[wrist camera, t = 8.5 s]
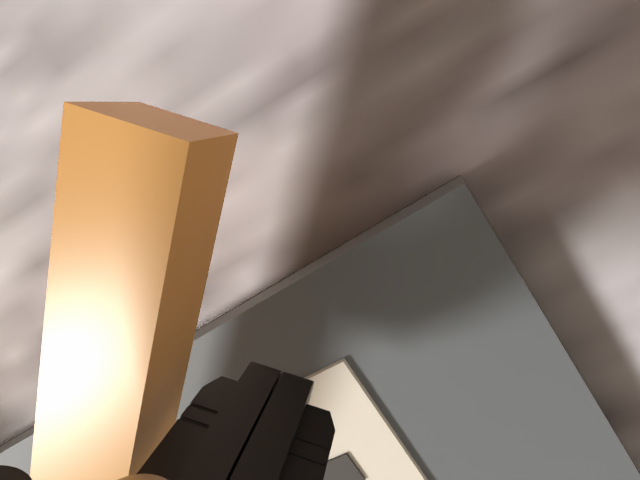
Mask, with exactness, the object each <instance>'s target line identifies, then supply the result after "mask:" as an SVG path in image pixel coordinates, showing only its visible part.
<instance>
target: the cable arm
mask: <svg viewBox="0 0 640 480" xmlns="http://www.w3.org/2000/svg"><path fill="white" fill-rule="evenodd" d="M237 137H238V133H236V132H233V131H230V130H227V129H223V128H220V127H217V126H214V125H211V124H207V123H204V122H201V121H198V120H195V119H192V118H188V117H185V116H182V115H179V114H176V113H173V112H169V111H166V110H163V109H160V108H157V107H153V106H150V105H147V104H144V103H141V102H64V106H63V117H62V128H61V139H60V150H59V161H58V172H57V183H56V194H55V205H54V216H53V227H52V238H51V249H50V260H49V271H48V282H47V293H46V304H45V315H44V326H43V337H42V348H41V359H40V370H39V381H38V392H37V403H36V414H35V425H34V436H33V447H32V458H31V469H30V477H31V478H32V480H118V479H120V478H123V477H126V476H130V475H134V474H136V473H137V472H138V471H139V470H140V469H141V467H142V466H143V465H144V463H145V462H146V461H147V459H148V458H149V457H150V455H151V454H152V453H153V451H154V450H155V449H156V447H157V446H158V445H159V443H160V442H161V441H162V440H163V438H164V437H165V436H166V434H167V433H168V432H169V430H170V429H171V428H172V426H173V425H174V424H175V422H176V418H177V414H178V409H179V405H180V400H181V395H182V391H183V386H184V382H185V377H186V372H187V368H188V363H189V359H190V354H191V349H192V345H193V340H194V336H195V331H196V326H197V322H198V317H199V312H200V308H201V303H202V299H203V294H204V289H205V285H206V280H207V276H208V271H209V266H210V262H211V257H212V253H213V248H214V243H215V239H216V234H217V230H218V225H219V220H220V216H221V211H222V207H223V202H224V197H225V193H226V188H227V184H228V179H229V174H230V170H231V165H232V160H233V156H234V151H235V147H236V142H237Z"/></svg>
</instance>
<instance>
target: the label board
mask: <svg viewBox="0 0 640 480" xmlns="http://www.w3.org/2000/svg"><path fill="white" fill-rule="evenodd" d="M251 361H252V362H255V363H259V364H262V365H265V366H268V367H271V368H274V369H277V370H280V371H282V373H283V372H287V373H290V374H293V375H296V376H299V377H303V378H306V379H309V380H312V381H314V385H313V389H312V393H311V397H310V401H309V405H312V406H315V407H318V408H321V409H324V410H327V411H330V413H331V417H332V420H333V424H334V427H335V434H334V438H333V442H332V446H331V450H330V454H329V459H328V463H327V467H326V471H325V475H324V479H323V480H640V474H639V472H638V470H637V469H636V467H635V465H634V464H633V462H632V460H631V459H630V457H629V455H628V454H627V452H626V450H625V449H624V447H623V445H622V444H621V442H620V440H619V439H618V437H617V435H616V434H615V432H614V430H613V429H612V427H611V425H610V424H609V422H608V420H607V419H606V417H605V415H604V414H603V412H602V410H601V409H600V407H599V405H598V404H597V402H596V400H595V399H594V397H593V395H592V394H591V392H590V390H589V389H588V387H587V385H586V384H585V382H584V380H583V379H582V377H581V375H580V374H579V372H578V370H577V369H576V367H575V365H574V364H573V362H572V360H571V359H570V357H569V355H568V354H567V352H566V350H565V349H564V347H563V345H562V344H561V342H560V340H559V339H558V337H557V335H556V334H555V332H554V330H553V329H552V327H551V325H550V324H549V322H548V320H547V319H546V317H545V315H544V314H543V312H542V310H541V309H540V307H539V305H538V304H537V302H536V300H535V299H534V297H533V295H532V294H531V292H530V290H529V289H528V287H527V285H526V284H525V282H524V280H523V279H522V277H521V276H520V274H519V272H518V271H517V269H516V267H515V266H514V264H513V262H512V261H511V259H510V257H509V256H508V254H507V252H506V251H505V249H504V247H503V246H502V244H501V242H500V241H499V239H498V237H497V236H496V234H495V232H494V231H493V229H492V227H491V226H490V224H489V222H488V221H487V219H486V217H485V216H484V214H483V212H482V211H481V209H480V207H479V206H478V204H477V202H476V201H475V199H474V197H473V196H472V194H471V192H470V191H469V189H468V187H467V186H466V184H465V182H464V181H463V180H462V178H461V177H460V176H458V177H456V178H455V179H453V180H451V181H450V182H448V183H446V184H444V185H443V186H441V187H439V188H438V189H436V190H434V191H433V192H431V193H429V194H427V195H426V196H424V197H422V198H421V199H419V200H417V201H416V202H414V203H412V204H410V205H409V206H407V207H405V208H404V209H402V210H400V211H399V212H397V213H395V214H393V215H392V216H390V217H388V218H387V219H385V220H383V221H382V222H380V223H378V224H377V225H375V226H373V227H371V228H370V229H368V230H366V231H365V232H363V233H361V234H360V235H358V236H356V237H354V238H353V239H351V240H349V241H348V242H346V243H344V244H343V245H341V246H339V247H337V248H336V249H334V250H332V251H331V252H329V253H327V254H326V255H324V256H322V257H320V258H319V259H317V260H315V261H314V262H312V263H310V264H309V265H307V266H305V267H304V268H302V269H300V270H298V271H297V272H295V273H293V274H292V275H290V276H288V277H287V278H285V279H283V280H281V281H280V282H278V283H276V284H275V285H273V286H271V287H270V288H268V289H266V290H264V291H263V292H261V293H259V294H258V295H256V296H254V297H253V298H251V299H249V300H247V301H246V302H244V303H242V304H241V305H239V306H237V307H236V308H234V309H232V310H230V311H229V312H227V313H225V314H224V315H222V316H220V317H219V318H217V319H215V320H214V321H212V322H210V323H208V324H207V325H205V326H203V327H202V328H200V329H198V330H197V331H195V336H194V340H193V345H192V349H191V354H190V359H189V363H188V368H187V372H186V377H185V382H184V386H183V391H182V395H181V400H180V405H179V409H178V414H177V418H176V421H177V420H178V419H180V416H181V414H182V413H183V412H184V410H185V409H186V408H187V407H188V405H189V406H190V403H191V401H192V400H193V399H194V397H195V396H196V395H197V393H198V392H199V391H200V389H201V388H202V387H203V386H204V385H206V384H208V383H210V382H212V381H213V380H215V379H217V378H219V377H221V376H223V377H226V378H229V379H233V380H236V381H238V380H239V379H240V377H241V376H242V374H243V372H244V371H245V369H246V368H247V366H248V365H249V363H250V362H251ZM33 436H34V427H32V428H30V429H28V430H27V431H25V432H23V433H22V434H20V435H18V436H17V437H15V438H13V439H11V440H10V441H8V442H6V443H5V444H3V445H1V446H0V465H5V466H12V467H16V468H18V469H21V470H23V471H24V472H26V473H27V474H28V475H29V476H30V469H31V458H32V447H33Z"/></svg>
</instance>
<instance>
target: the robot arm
mask: <svg viewBox="0 0 640 480" xmlns="http://www.w3.org/2000/svg"><path fill="white" fill-rule="evenodd" d="M313 385H314V381H312V380H309V379H306V378H303V377H299V376H296V375H293V374H290V373H287V372H283V373H282V371H280V370H277V369H274V368H271V367H268V366H265V365H262V364H259V363H255V362H252V361H251V362H250V363H249V365H248V366H247V368H246V369H245V371H244V372H243V374H242V376H241V377H240V379H239V380H238V381H236V380H233V379H229V378H226V377H223V376H221V377H219V378H217V379H215V380H213V381H212V382H210V383H208V384H206V385H204V386H203V387H202V388H201V389H200V391H199V392H198V393H197V395H196V396H195V397H194V399H193V400H192V401H191V403H190V406H189V405H188V407H187V408H186V409H185V410H184V412H183V413H182V414H181V416H180V419H178V420H177V421H176V422H175V424H174V425H173V426H172V428H171V429H170V430H169V432H168V433H167V434H166V436H165V437H164V438H163V440H162V441H161V442H160V443H159V445H158V446H157V447H156V449H155V450H154V451H153V453H152V454H151V455H150V457H149V458H148V459H147V461H146V462H145V463H144V465H143V466H142V467H141V469H140V470H139V471H138V472H137V473H136V474H134V475H130V476H126V477H123V478H120V479H118V480H323V479H324V475H325V471H326V467H327V463H328V459H329V454H330V450H331V446H332V442H333V438H334V434H335V427H334V424H333V420H332V417H331V413H330V411H327V410H324V409H321V408H318V407H315V406H312V405H309V401H310V397H311V393H312V389H313ZM0 480H32V478H31V477H30V476H29V475H28V474H27V473H26V472H24V471H23V470H21V469H18V468H16V467H12V466H5V465H0Z"/></svg>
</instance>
